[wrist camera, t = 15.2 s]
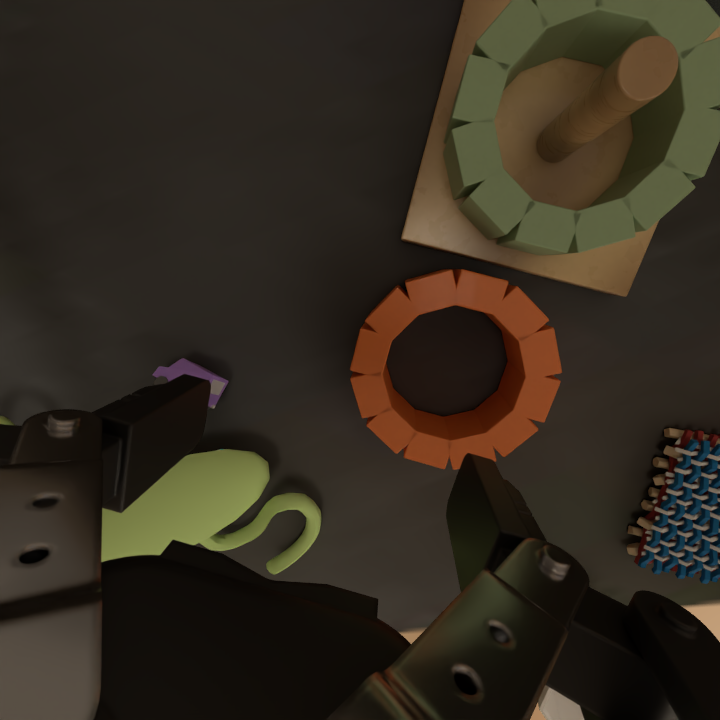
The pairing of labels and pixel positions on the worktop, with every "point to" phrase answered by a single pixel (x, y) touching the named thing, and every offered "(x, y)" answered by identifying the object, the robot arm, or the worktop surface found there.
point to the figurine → (203, 498)
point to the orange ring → (498, 412)
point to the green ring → (650, 123)
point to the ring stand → (546, 151)
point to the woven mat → (683, 509)
